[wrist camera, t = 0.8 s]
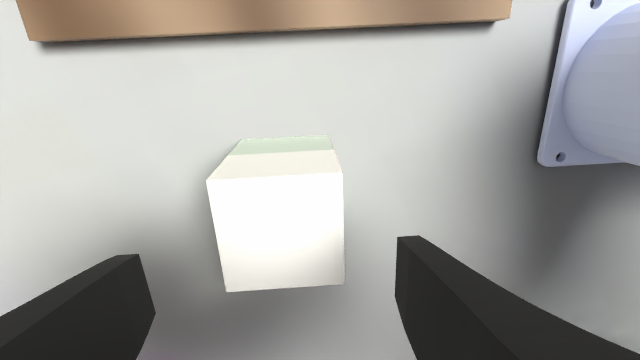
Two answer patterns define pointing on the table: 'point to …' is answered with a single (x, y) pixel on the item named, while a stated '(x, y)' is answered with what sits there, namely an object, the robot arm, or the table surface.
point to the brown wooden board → (237, 16)
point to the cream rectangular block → (279, 214)
